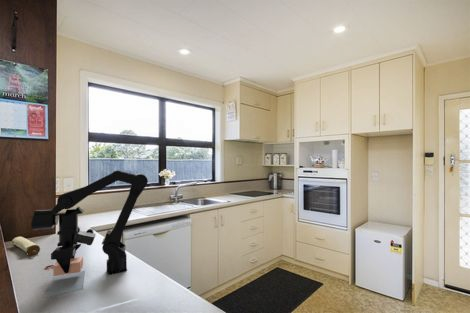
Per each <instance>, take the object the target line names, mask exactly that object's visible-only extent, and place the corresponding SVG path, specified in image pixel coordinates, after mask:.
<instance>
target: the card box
mask: <svg viewBox="0 0 470 313" xmlns="http://www.w3.org/2000/svg"><path fill="white" fill-rule="evenodd" d="M53 265H54V266H52V267H53V268H52V271H53V272H52V276H53V277H56V276H61V275H66V274H71V273H76V272H81V270H82V269H83V267H84V257H83V256H79V257H75V258H71V263H70V268H69V272H68V273H64V271H63V269H62V268H61V266H60V265H59V263H58V262H57V261H56V262H55V263H54V264H53Z"/></svg>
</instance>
